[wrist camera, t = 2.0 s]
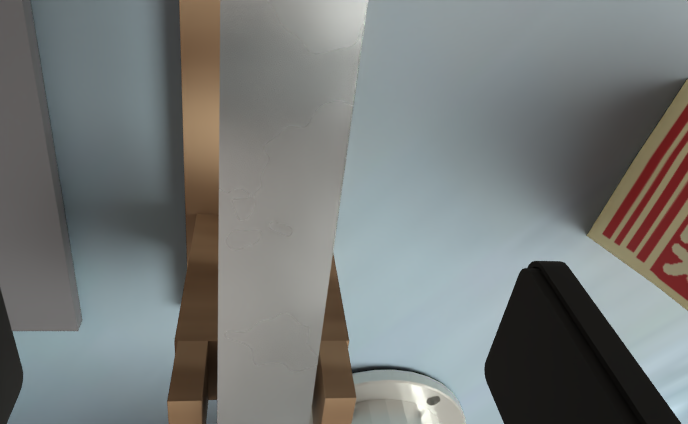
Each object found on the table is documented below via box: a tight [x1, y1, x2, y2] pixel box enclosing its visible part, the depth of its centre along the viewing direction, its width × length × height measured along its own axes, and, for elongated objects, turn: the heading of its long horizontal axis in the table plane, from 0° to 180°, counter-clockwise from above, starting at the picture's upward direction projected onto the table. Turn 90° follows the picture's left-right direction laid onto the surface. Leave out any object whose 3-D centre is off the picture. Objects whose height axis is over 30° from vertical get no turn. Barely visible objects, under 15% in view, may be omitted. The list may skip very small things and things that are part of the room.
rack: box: [167, 0, 356, 424], centre depth 19 cm, size 26×7×12 cm, turn 173°
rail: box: [217, 0, 368, 424], centre depth 15 cm, size 25×4×4 cm, turn 173°
